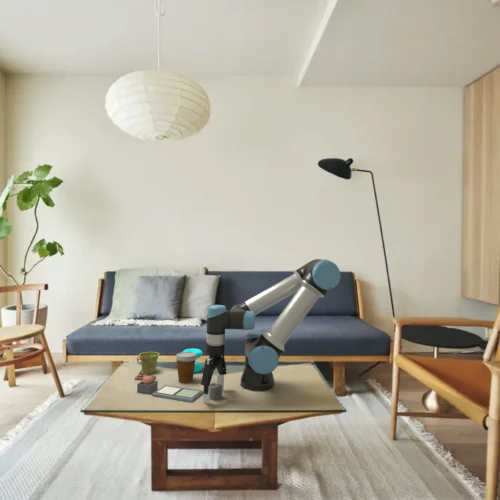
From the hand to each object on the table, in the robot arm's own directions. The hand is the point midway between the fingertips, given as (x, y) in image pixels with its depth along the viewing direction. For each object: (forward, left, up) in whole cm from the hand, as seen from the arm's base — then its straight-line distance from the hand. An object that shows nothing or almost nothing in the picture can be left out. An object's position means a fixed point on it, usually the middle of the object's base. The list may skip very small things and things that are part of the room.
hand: (213, 395), depth 159 cm
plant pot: (+42, -17, -1) cm, 45 cm away
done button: (+29, +4, +2) cm, 29 cm away
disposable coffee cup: (+20, -13, -1) cm, 24 cm away
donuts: (+24, -27, -1) cm, 36 cm away
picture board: (+15, +3, -1) cm, 15 cm away
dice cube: (0, 0, -1) cm, 1 cm away
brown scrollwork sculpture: (+38, -8, -1) cm, 39 cm away
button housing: (+29, +4, -1) cm, 29 cm away
